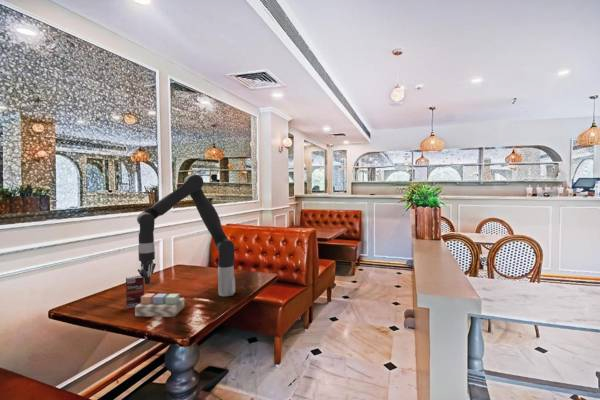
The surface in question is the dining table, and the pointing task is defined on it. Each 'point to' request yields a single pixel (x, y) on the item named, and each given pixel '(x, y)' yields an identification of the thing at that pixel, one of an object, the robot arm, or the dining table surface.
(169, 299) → the tile sage
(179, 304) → the tile board
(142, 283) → the supplement box
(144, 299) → the tile terracotta
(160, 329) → the dining table surface
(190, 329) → the dining table surface
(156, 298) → the pale blue cube
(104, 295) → the dining table surface
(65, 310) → the dining table surface
